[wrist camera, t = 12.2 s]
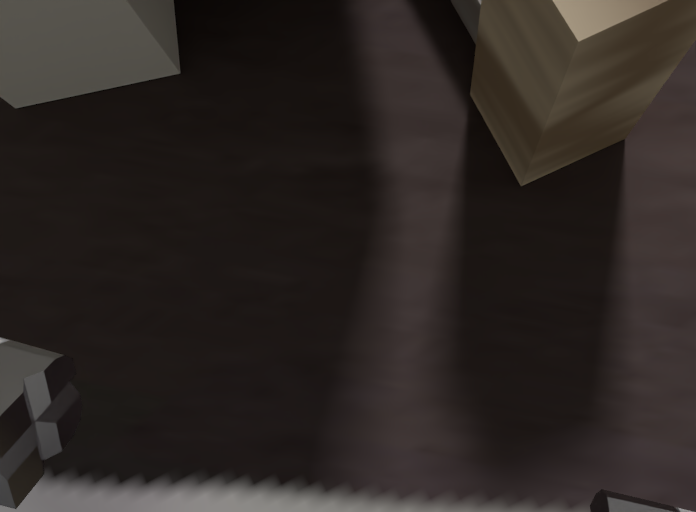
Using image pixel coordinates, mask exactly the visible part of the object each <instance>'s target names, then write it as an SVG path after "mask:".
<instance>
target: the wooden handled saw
mask: <svg viewBox="0 0 696 512" xmlns="http://www.w3.org/2000/svg"><path fill="white" fill-rule="evenodd" d="M450 1H451V2H452V4H453V6H454V8H455V9H456V11H457V13H458V14H459V16H460V18H461V20H462V21H463V23H464V25H465V27H466V28H467V30H468V32H469V34H470V35H471V37H472V39H473V41H474V42H475V44H476V49H475V58H474V66H473V74H472V82H471V91H470V95H471V97H472V99H473V101H474V103H475V104H476V106H477V108H478V110H479V112H480V113H481V115H482V117H483V119H484V121H485V122H486V124H487V126H488V128H489V130H490V131H491V133H492V135H493V137H494V139H495V140H496V142H497V144H498V146H499V148H500V149H501V151H502V153H503V155H504V157H505V158H506V160H507V162H508V164H509V166H510V167H511V169H512V171H513V173H514V175H515V176H516V178H517V180H518V182H519V184H520V185H521V186H523V185H525V184H527V183H530V182H532V181H534V180H536V179H538V178H541V177H543V176H545V175H547V174H549V173H551V172H554V171H556V170H558V169H560V168H562V167H565V166H567V165H569V164H571V163H573V162H575V161H578V160H580V159H582V158H584V157H586V156H589V155H591V154H593V153H595V152H597V151H599V150H602V149H604V148H606V147H608V146H610V145H613V144H615V143H617V142H619V141H621V140H623V139H625V138H626V137H627V136H628V134H629V133H630V131H631V130H632V128H633V127H634V126H635V124H636V123H637V121H638V120H639V119H640V117H641V116H642V114H643V113H644V112H645V110H646V109H647V107H648V106H649V105H650V103H651V102H652V100H653V99H654V97H655V96H656V95H657V93H658V92H659V90H660V89H661V88H662V86H663V85H664V83H665V82H666V81H667V79H668V78H669V76H670V75H671V74H672V72H673V71H674V69H675V68H676V66H677V65H678V64H679V62H680V61H681V59H682V58H683V57H684V55H685V54H686V52H687V51H688V50H689V48H690V47H691V45H692V44H693V42H694V41H695V40H696V0H450Z"/></svg>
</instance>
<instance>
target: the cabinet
mask: <svg viewBox="0 0 696 512" xmlns="http://www.w3.org/2000/svg"><path fill="white" fill-rule="evenodd" d="M176 74H181V72H180V62H179V51H178V41H177V30H176V20H175V9H174V0H0V97H1V98H2V99H3V100H5V101H6V102H8V103H9V104H10V105H12V106H13V107H14V108H21V107H25V106H30V105H35V104H39V103H44V102H49V101H53V100H58V99H63V98H68V97H72V96H77V95H82V94H86V93H91V92H96V91H101V90H105V89H110V88H115V87H119V86H124V85H129V84H133V83H138V82H143V81H148V80H152V79H157V78H162V77H166V76H171V75H176Z"/></svg>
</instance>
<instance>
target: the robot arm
mask: <svg viewBox="0 0 696 512" xmlns="http://www.w3.org/2000/svg"><path fill="white" fill-rule="evenodd" d="M75 375H76V370H75V366H74V362H73V358H70V357H68V356H65V355H62V354H59V353H55V352H51V351H48V350H44V349H41V348H37V347H34V346H30V345H27V344H23V343H19V342H16V341H12V340H8V339H4V338H0V505H3V506H7V507H10V508H15V509H16V508H17V507H18V506H19V505H20V503H21V502H22V501H23V500H24V498H25V497H26V496H27V494H28V493H29V492H30V491H31V490H32V488H33V487H34V486H35V485H36V483H37V482H38V481H39V480H40V478H41V477H42V476H43V475H44V460H45V459H47V458H49V457H51V456H53V455H55V454H57V453H60V452H62V451H63V449H64V448H65V447H66V446H67V444H68V443H69V442H70V440H71V439H72V438H73V436H74V434H75V431H76V429H77V427H78V424H79V422H80V420H81V412H82V401H81V395H80V393H79V392H78V391H77V390H76V389H75V387H74V386H73V385H72V384H71V383H70V381H71V380H72V378H73V377H74V376H75ZM590 509H591V512H692V511H688V510H684V509H680V508H674V507H673V506H670V505H665V504H661V503H657V502H653V501H649V500H645V499H640V498H636V497H632V496H628V495H624V494H619V493H615V492H611V491H607V490H603V489H601V490H600V491H599V492H598V493H596V495H595V497H594V499H593V501H592V503H591V504H590Z"/></svg>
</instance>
